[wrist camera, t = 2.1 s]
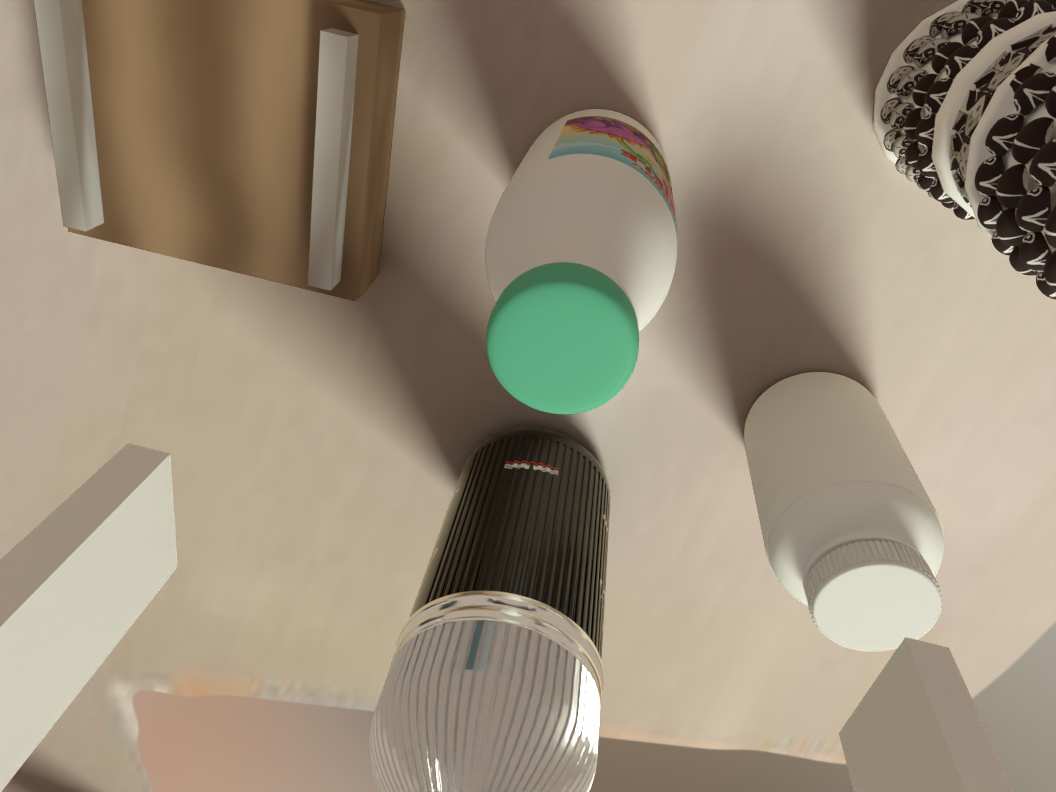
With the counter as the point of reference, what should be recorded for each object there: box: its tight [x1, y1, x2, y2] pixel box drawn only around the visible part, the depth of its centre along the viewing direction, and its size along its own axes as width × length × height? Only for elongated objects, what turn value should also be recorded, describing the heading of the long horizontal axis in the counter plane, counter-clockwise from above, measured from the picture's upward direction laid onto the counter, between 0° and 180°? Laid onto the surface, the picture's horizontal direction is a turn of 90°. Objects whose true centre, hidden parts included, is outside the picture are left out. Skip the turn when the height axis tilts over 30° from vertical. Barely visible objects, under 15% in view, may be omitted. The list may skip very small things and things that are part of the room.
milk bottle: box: [485, 109, 677, 414], centre depth 30 cm, size 8×8×20 cm
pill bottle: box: [744, 372, 944, 651], centre depth 38 cm, size 8×8×15 cm
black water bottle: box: [370, 428, 610, 792], centre depth 38 cm, size 10×10×25 cm
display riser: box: [34, 0, 405, 301], centre depth 37 cm, size 16×14×6 cm
